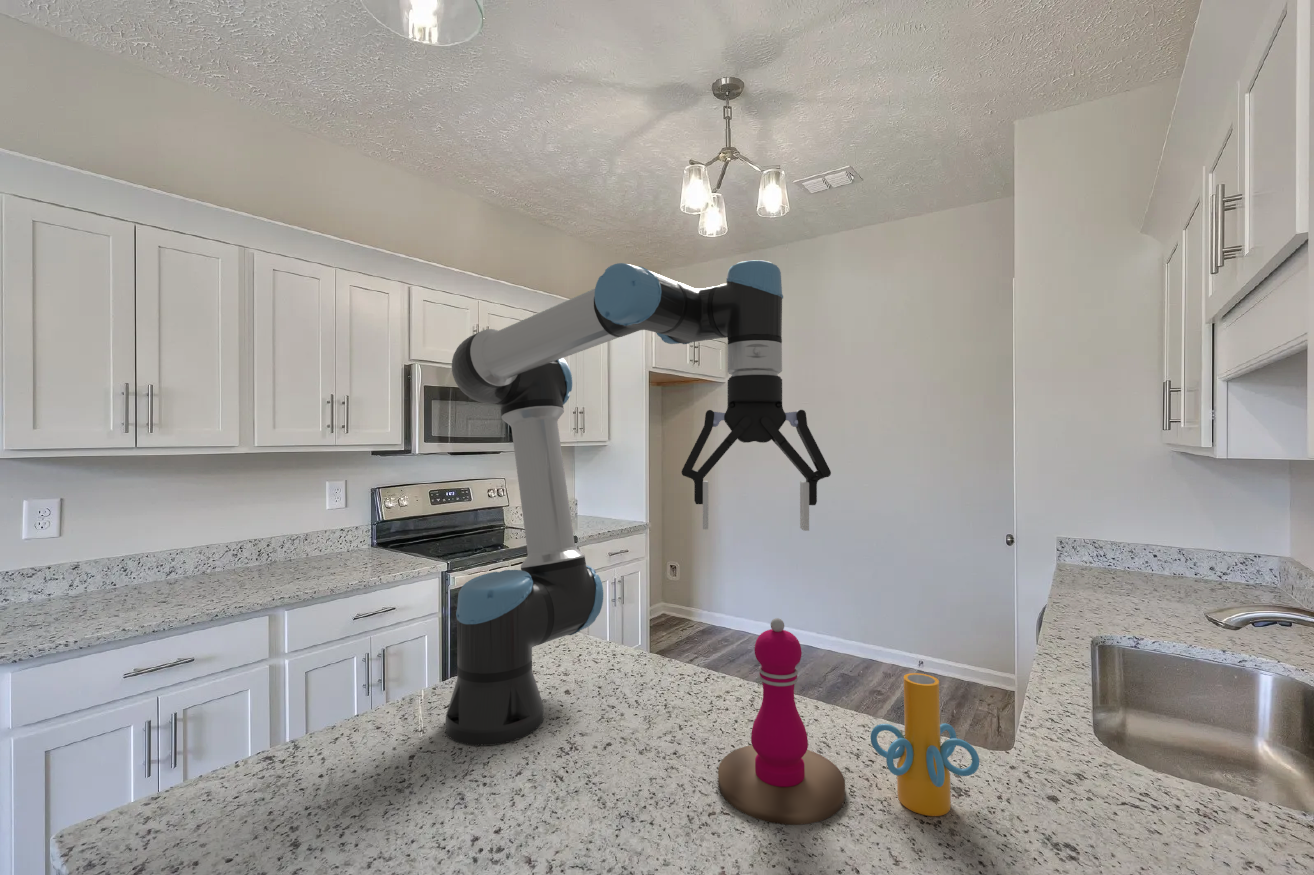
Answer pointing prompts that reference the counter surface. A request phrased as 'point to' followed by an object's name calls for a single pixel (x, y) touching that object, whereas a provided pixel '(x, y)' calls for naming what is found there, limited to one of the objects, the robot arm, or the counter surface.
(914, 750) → the cylinder
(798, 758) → the pepper mill
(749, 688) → the counter surface
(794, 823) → the walnut board
